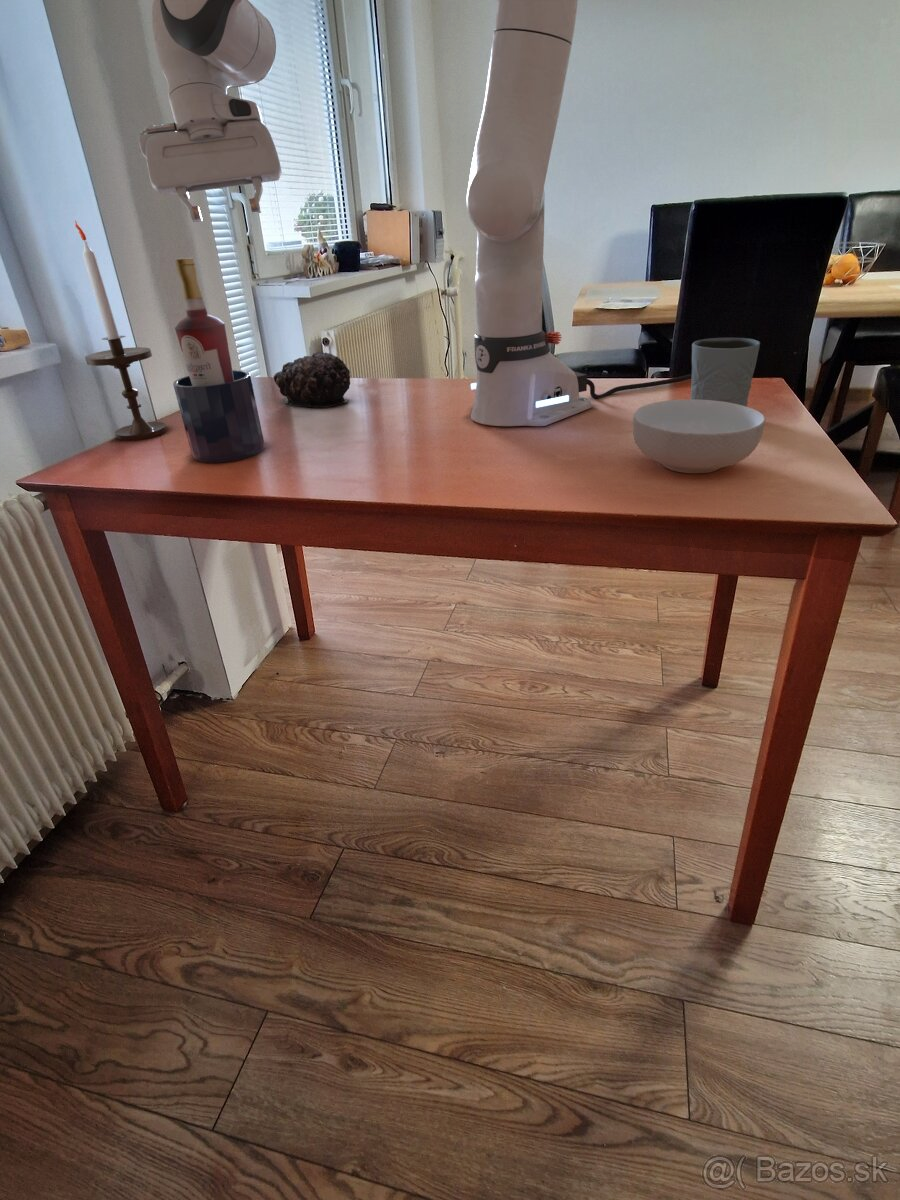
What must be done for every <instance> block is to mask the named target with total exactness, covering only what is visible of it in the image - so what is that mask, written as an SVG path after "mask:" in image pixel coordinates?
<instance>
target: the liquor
mask: <svg viewBox="0 0 900 1200" xmlns="http://www.w3.org/2000/svg"><path fill="white" fill-rule="evenodd" d="M174 264H175V268H176V271H177V273H178V276H179V277H178V278H179V279H180V281H181V284H182V285H181V286H182V292H183V298H184V305H185V312H186V316H185V317H184V318H183V319H181V320H179V321H178V323H177V324H176V326H175V327H174V330H175V334H176V337H177V340H178V343H179V347H180V350H181V354H182V358H183V361H184V364H185V368H186V371H187V374H188V376H189V377H190V380H191V383H192V386H207V385H215V384H221V383H227V382H231V381H234V377H233V370H234V369H233V364H232V359H231V352H230V346H229V342H228V336H227V330H226V324H225V322H224V321H223V320H221V319H220V318H218V317H217V316H214V315H211V314H208V311H207V309H206V304H205V301H204V298H203V295H202V292H201V288H200V285H199V282H198V274H197V273H198V272H197V268H196V263H195V258H194V257H182V258H181V257H180V258H174Z"/></svg>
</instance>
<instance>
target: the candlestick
mask: <svg viewBox="0 0 900 1200" xmlns="http://www.w3.org/2000/svg"><path fill="white" fill-rule="evenodd" d="M74 223H75V228H76V229H77V231H78V234H79V235H80V238H81V240H82V241H83V242H82V243H83V251H82V252H81V255H82V258H83V261H84V264H85V267H86V270H87V274H88V277H89V278H88V279H89V281H90V284H91V287H92V291H93V294H94V297H95V300H96V303H97V308H98V311H99V313H100V317H101V320H102V323H103V327H104V331H105V332H106V337H102V338H101V340H102V341H107V342H108V345H109V349H106V350H102V351H98V352H94V353H90V354H88V355H86V356H84V359H85V363H86V364H87V365H88V366H95V367H96V366H97V367H100V366H101V367H102V366H103V367H105V366H109V367H113V369H115V370H116V369H117V370H118V372H119V374H120V377H121V380H122V381H121V382H122V384H123V387H124V389H123V390H122V391H121V395H122V396H123V397H124V399H126V400H127V403H128V405H127V406H126V409H128V410H130V411H131V414H132V417H133V419H132V421H131V424H129V425H125V426H123V427H120V428H118V429H117V430H115V431H114V435H115V438H116V439H117V440H118V441H128V442H129V441H130V442H131V441H140V440H141V441H142V440H146V439H151V438H155V437H158V436H161V435H163V434H165V433H166V432H167V431H168V427H167V423H166V422H163V421H146V420H145V419H144V418H143V417H142V415H141V414H142V413H141V411H140V408H142V404H141V403H138V399H137V398H138V397H139V391H138V389H137V388H134V387H133V384H132V381H131V378H130V374H129V371H128V368H130V367H131V364H134V362H136V363H137V362H140V361H143V360H147V359H150V358H152V357H153V353H152V350H151V348H150V347H146V346H145V347H143V346H142V347H141V346H137V347H135V346H134V347H124V346H123V343H122V339H124V338H126V337H127V336H126V335H119V332H118V331H119V330H118V328H117V324H116V321H115V317H114V314H113V311H112V308H111V307H112V306H111V304H110V300H109V298H108V294H107V291H106V290H107V289H106V287H105V283H104V280H103V277H102V273H101V270H100V267H99V266H100V265H99V264H98V263H99V262H98V260H97V257H96V254H95V251H94V250H92V249H91V248H90V246H89V244H88V241H87V235H86V233H85V231H84V229H82V227H81V226H80V225H79V224H78V221H77V220H76V219H75V221H74Z"/></svg>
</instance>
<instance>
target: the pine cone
mask: <svg viewBox="0 0 900 1200" xmlns="http://www.w3.org/2000/svg"><path fill="white" fill-rule="evenodd" d="M350 373H351V371H350V369H349V368H348V367H347V365H346V363H345V362H344V361H343V360H342V359H341V358H340V357H339V356H337V355H335V354H333V353H330V352H321V351H320V352H319V351H317V352H313V353H312V354H311V355H304V356H303V357H299V358H297V359H294V360H293V361H290V362H289V361H288V362H286V363H285V364H283V365H282V369H281V371H278V372H275V374H274V375H273V381H274V383H275V384H276V386H277V387H278V388H279V393H280V395H281V396H283V397H286V399H285V400H284V403H285V404H287V405H289V406H293V407H307V408H308V407H309V408H328V407H334V406H338V405H342V404H344V403H347V402H349V399H347V398H344V396H345V394H346V393H347V392H348V391H349V389H350V386H351V374H350Z"/></svg>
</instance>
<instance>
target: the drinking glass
mask: <svg viewBox="0 0 900 1200" xmlns="http://www.w3.org/2000/svg"><path fill="white" fill-rule="evenodd" d="M760 345H761V342H760V341H759V340H756V339H754V338H747V337H746V338H745V337H713V338H712V337H711V338H704V339H698V340H695V341H693V342H692V344H691V374H692V379H691V383H690V384H691V385H690V387H691V390H690V399H698V400H712V401H721V402H728V403H733V404H738V405H742V406H746V407H748V399H749V396H750V390H751V389H752V380H753V377H754V373H755V369H756V365H757V361H758V355H759V351H760V348H761V347H760Z"/></svg>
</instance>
